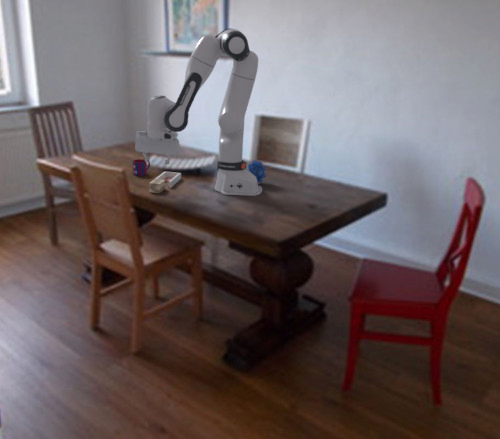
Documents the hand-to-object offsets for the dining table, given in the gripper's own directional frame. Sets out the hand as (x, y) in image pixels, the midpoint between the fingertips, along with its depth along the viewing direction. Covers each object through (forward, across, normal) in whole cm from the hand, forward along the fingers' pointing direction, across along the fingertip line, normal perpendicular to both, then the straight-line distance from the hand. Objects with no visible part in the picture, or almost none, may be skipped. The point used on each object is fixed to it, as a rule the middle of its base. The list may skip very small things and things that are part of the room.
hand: (157, 162), depth 252 cm
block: (+13, 0, -1) cm, 13 cm away
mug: (+13, -16, +24) cm, 32 cm away
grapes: (+12, +43, +24) cm, 50 cm away
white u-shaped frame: (+13, +1, +13) cm, 18 cm away
